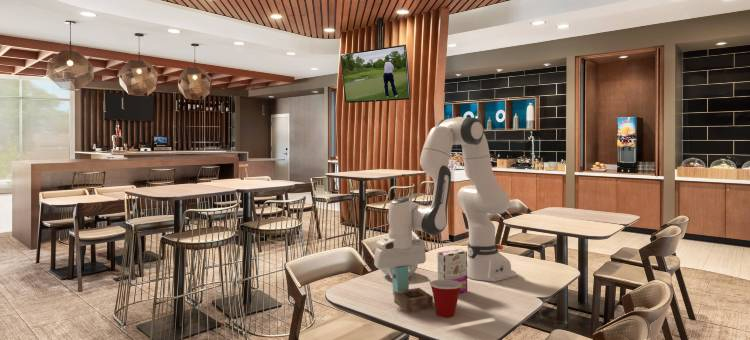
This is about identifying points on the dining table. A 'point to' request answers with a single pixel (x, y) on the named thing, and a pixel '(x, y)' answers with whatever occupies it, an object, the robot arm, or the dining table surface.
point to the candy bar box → (453, 267)
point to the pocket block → (413, 299)
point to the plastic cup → (445, 296)
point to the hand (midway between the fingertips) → (400, 277)
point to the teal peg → (400, 278)
